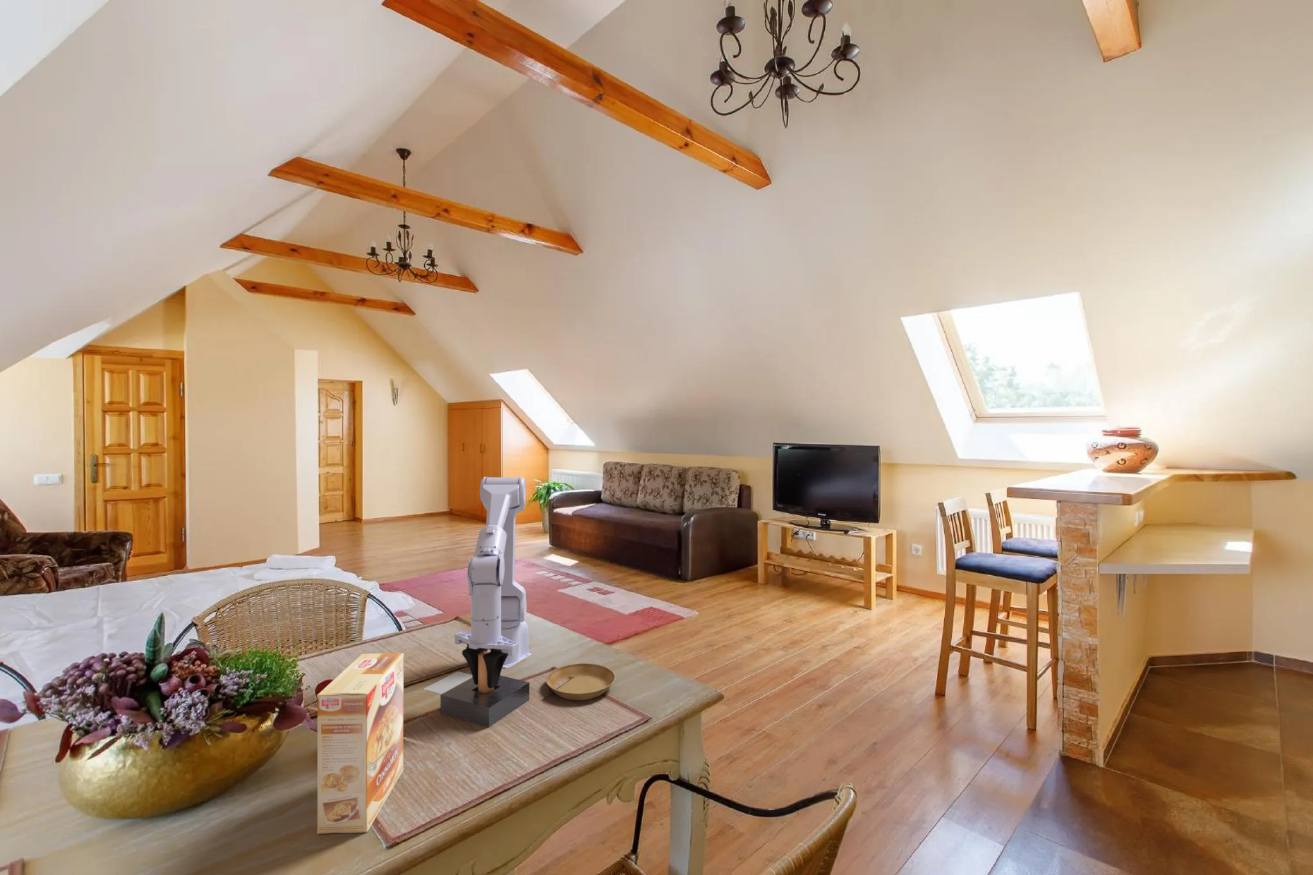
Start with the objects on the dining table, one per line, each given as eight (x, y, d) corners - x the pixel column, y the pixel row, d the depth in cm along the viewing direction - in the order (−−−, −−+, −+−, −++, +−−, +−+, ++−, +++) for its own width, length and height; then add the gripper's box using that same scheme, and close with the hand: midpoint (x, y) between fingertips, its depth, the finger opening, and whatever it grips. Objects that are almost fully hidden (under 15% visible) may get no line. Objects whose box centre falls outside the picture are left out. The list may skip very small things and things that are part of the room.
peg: (484, 694, 119) (484, 650, 119) (497, 696, 118) (497, 652, 117) (474, 700, 116) (474, 655, 116) (487, 703, 115) (487, 657, 115)
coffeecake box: (368, 833, 81) (367, 693, 81) (314, 835, 81) (313, 694, 80) (405, 769, 96) (405, 651, 96) (360, 771, 96) (360, 652, 95)
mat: (457, 672, 133) (457, 671, 133) (492, 681, 129) (492, 679, 129) (423, 690, 124) (423, 689, 124) (459, 700, 120) (459, 698, 120)
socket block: (483, 689, 125) (483, 671, 125) (529, 701, 120) (529, 682, 120) (440, 715, 114) (440, 694, 114) (489, 729, 109) (489, 707, 109)
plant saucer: (627, 682, 130) (627, 670, 130) (592, 711, 116) (592, 698, 116) (570, 669, 136) (571, 658, 136) (531, 696, 123) (531, 684, 123)
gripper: (443, 616, 116) (443, 685, 116) (501, 628, 110) (501, 700, 110) (468, 606, 122) (468, 671, 123) (525, 617, 116) (525, 685, 116)
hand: (486, 684), depth 117 cm, fingers closed on peg, 3 cm apart
